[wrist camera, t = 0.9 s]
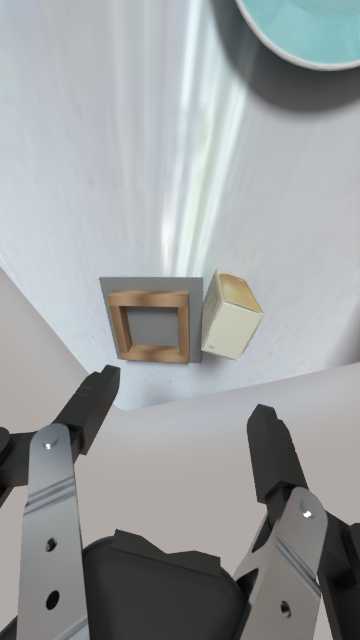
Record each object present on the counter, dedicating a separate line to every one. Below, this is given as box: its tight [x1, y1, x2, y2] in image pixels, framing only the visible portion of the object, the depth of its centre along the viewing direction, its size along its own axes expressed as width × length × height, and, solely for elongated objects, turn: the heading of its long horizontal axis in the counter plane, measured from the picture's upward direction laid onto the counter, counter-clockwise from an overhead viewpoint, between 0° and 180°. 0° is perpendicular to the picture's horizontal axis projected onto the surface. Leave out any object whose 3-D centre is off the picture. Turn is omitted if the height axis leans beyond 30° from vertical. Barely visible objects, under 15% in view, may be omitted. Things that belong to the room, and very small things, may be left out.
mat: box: [99, 277, 203, 363], centre depth 35 cm, size 16×16×1 cm
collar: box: [107, 290, 190, 363], centre depth 33 cm, size 12×12×2 cm
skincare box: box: [201, 269, 264, 361], centre depth 25 cm, size 6×4×12 cm
